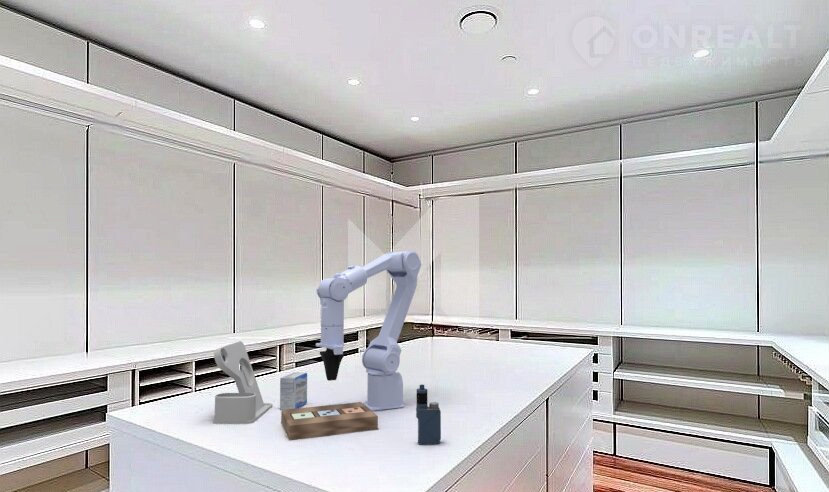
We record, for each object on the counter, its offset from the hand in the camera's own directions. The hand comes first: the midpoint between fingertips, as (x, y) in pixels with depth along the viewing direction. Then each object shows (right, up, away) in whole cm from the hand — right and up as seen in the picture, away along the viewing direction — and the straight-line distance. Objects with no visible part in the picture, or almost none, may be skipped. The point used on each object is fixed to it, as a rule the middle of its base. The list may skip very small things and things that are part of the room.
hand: (331, 379), depth 119 cm
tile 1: (-5, -8, -9) cm, 13 cm away
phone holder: (-23, -10, +3) cm, 25 cm away
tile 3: (0, -8, -7) cm, 11 cm away
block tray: (0, -9, -7) cm, 11 cm away
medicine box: (-12, -11, +10) cm, 19 cm away
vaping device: (+24, -8, -19) cm, 32 cm away
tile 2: (+6, -8, -5) cm, 11 cm away
